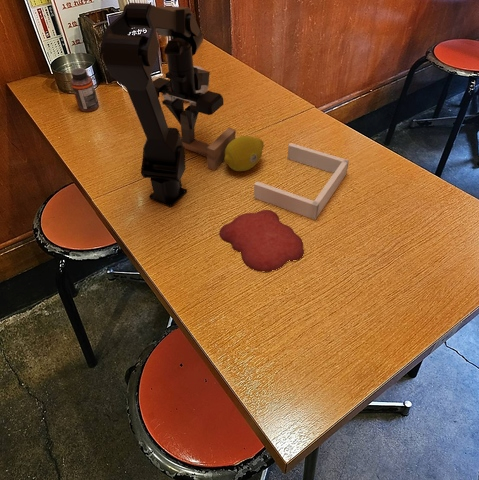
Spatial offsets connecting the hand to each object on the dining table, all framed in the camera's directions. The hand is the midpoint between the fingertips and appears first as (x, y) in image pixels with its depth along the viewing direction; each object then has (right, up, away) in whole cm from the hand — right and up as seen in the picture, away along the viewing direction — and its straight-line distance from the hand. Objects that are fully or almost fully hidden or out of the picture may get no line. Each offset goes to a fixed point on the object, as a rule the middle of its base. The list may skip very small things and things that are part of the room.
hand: (187, 126), depth 113 cm
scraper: (+4, -6, +3) cm, 7 cm away
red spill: (+18, -29, -19) cm, 39 cm away
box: (+27, -16, -7) cm, 32 cm away
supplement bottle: (-32, +11, +21) cm, 39 cm away
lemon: (+14, -10, -1) cm, 18 cm away
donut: (0, +14, +23) cm, 27 cm away
